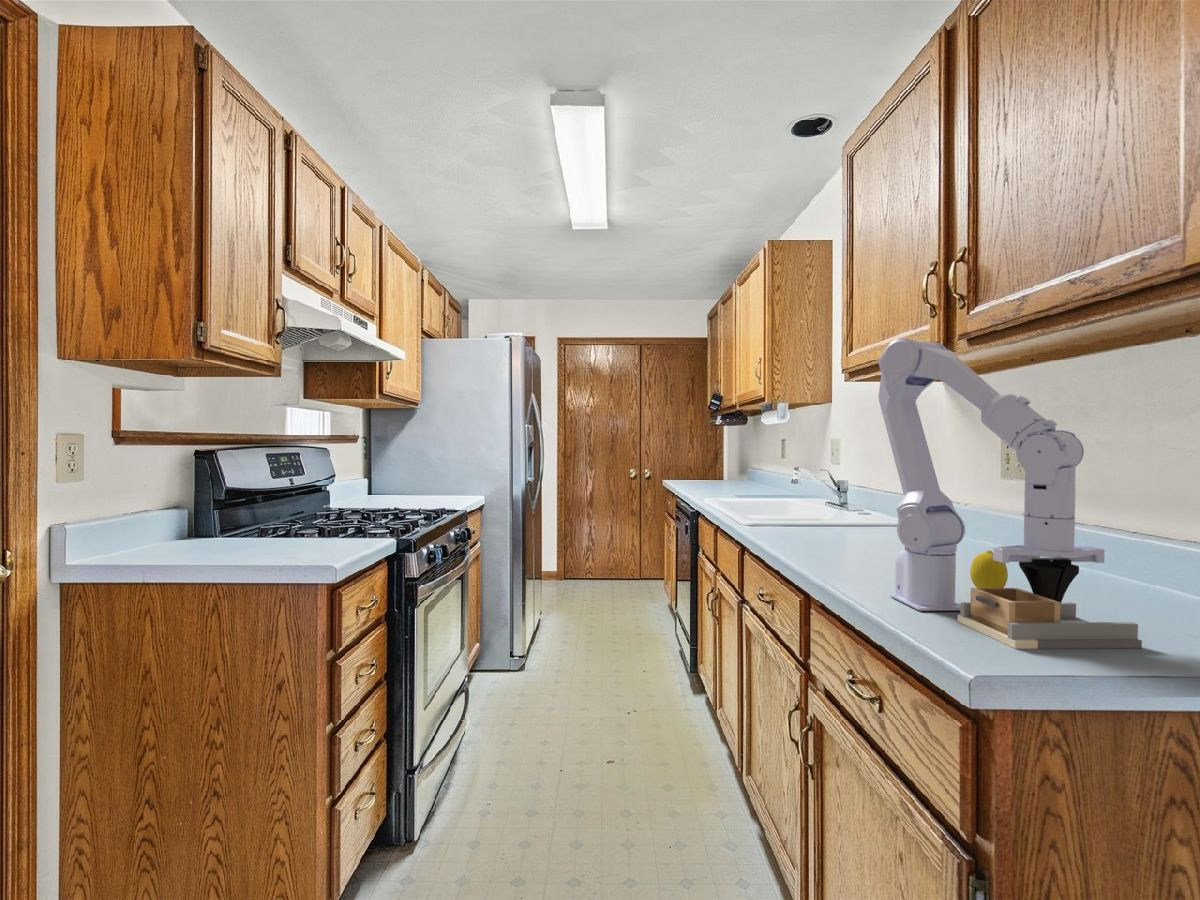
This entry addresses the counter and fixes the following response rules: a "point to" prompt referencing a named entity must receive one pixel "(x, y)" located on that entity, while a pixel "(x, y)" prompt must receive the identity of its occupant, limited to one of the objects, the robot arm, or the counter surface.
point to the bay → (1059, 632)
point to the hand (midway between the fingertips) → (1047, 613)
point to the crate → (1011, 607)
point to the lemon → (988, 571)
